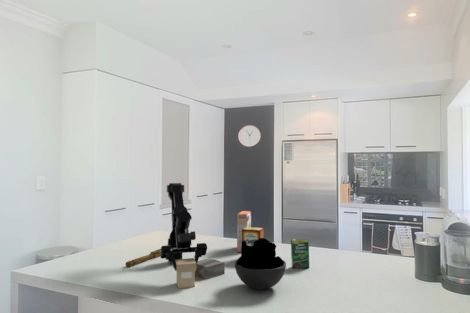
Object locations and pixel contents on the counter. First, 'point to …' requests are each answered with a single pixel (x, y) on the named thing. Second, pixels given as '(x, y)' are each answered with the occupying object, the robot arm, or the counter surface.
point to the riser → (210, 268)
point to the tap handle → (144, 258)
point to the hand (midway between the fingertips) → (185, 269)
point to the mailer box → (186, 279)
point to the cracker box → (242, 226)
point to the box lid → (185, 265)
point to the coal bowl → (260, 265)
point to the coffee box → (300, 253)
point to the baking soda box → (252, 235)
